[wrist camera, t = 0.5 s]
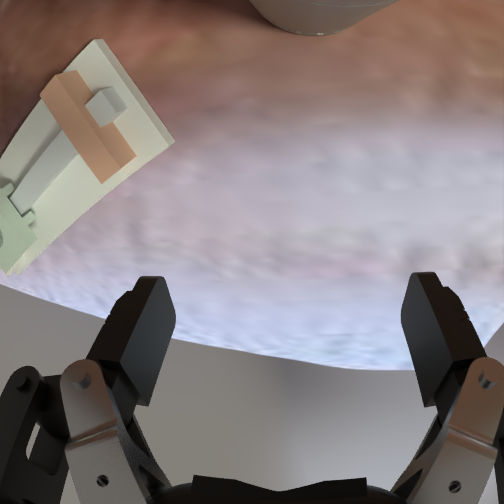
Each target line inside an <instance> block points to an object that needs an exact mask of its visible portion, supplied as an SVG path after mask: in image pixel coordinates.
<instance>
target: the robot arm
mask: <svg viewBox="0 0 504 504" xmlns="http://www.w3.org/2000/svg"><path fill="white" fill-rule="evenodd" d="M249 1H250V2H251V3H252V4H253V6H254V7H255V8H256V9H257V10H258V12H259V13H260V14H261V15H262V16H263V17H264V18H265V19H267V20H268V21H269V22H271V23H272V24H273V25H275V26H277V27H279V28H281V29H283V30H285V31H288V32H291V33H295V34H298V35H306V36H325V35H329V34H334V33H337V32H340V31H343V30H344V29H347V28H348V27H350V26H352V25H354V24H356V23H358V22H359V21H361V20H363V19H365V18H367V17H368V16H370V15H372V14H374V13H376V12H378V11H379V10H381V9H383V8H385V7H387V6H389V5H391V4H393V3H395V2H397V1H399V0H249ZM175 322H176V314H175V309H174V306H173V303H172V300H171V297H170V293H169V290H168V287H167V284H166V281H165V279H164V277H162V276H141V277H140V278H139V279H138V281H137V282H136V284H135V286H134V288H133V290H132V291H127V292H126V293H124V294H123V295H122V296H121V297H120V298H119V299H118V300H117V301H116V303H115V304H114V306H113V308H112V310H111V312H110V315H108V317H107V319H106V321H105V324H104V325H103V326H102V328H101V330H100V332H99V334H98V336H97V338H96V340H95V342H94V343H93V345H92V347H91V349H90V351H89V353H88V355H87V357H86V359H83V360H78V361H76V362H74V363H72V364H71V365H69V366H68V367H67V368H66V369H65V370H64V372H63V373H62V375H54V376H45V377H42V376H41V375H40V374H39V372H38V371H37V370H36V369H35V368H34V367H32V366H24V367H21V368H19V369H17V370H16V371H15V372H14V373H13V374H12V375H11V376H10V378H9V380H8V382H7V384H6V386H5V388H4V390H3V392H2V394H1V396H0V504H60V500H61V496H62V492H63V488H64V484H65V481H66V477H67V473H68V470H69V469H70V472H71V476H72V479H73V482H74V485H75V488H76V491H77V494H78V497H79V500H80V503H81V504H478V502H479V500H480V497H481V495H482V493H483V491H484V488H485V486H486V484H487V481H488V479H489V476H490V474H491V471H492V469H493V466H494V468H495V475H496V483H497V491H498V501H499V504H504V366H503V365H502V364H501V363H500V362H498V361H497V360H495V359H492V358H489V357H487V355H486V353H485V350H484V348H483V346H482V344H481V341H480V339H479V337H478V335H477V333H476V331H475V328H474V326H473V324H472V322H471V321H470V320H469V316H468V314H467V312H466V311H465V308H464V306H463V304H462V302H461V300H460V298H459V297H458V296H457V295H456V294H455V293H454V292H453V291H452V290H451V289H450V288H449V287H443V286H442V284H441V282H440V280H439V278H438V277H437V275H436V273H435V272H414V273H412V274H411V276H410V279H409V283H408V286H407V290H406V294H405V297H404V301H403V304H402V308H401V324H402V328H403V331H404V334H405V337H406V341H407V344H408V347H409V351H410V354H411V358H412V361H413V365H414V369H415V372H416V376H417V380H418V384H419V388H420V392H421V396H422V400H423V404H424V407H429V406H436V407H437V411H438V413H437V414H436V416H435V417H434V419H433V422H432V424H431V426H430V428H429V430H428V432H427V433H426V435H425V437H424V439H423V441H422V443H421V445H420V447H419V449H418V450H417V452H416V454H415V456H414V458H413V459H412V461H411V463H410V464H409V465H408V467H407V468H406V470H405V471H404V472H403V473H402V475H401V476H400V477H399V479H398V480H397V482H396V483H395V484H394V486H393V487H392V489H391V490H390V491H388V490H385V489H382V488H379V487H375V486H369V485H367V480H366V477H365V478H356V479H346V480H331V481H323V482H319V483H315V484H311V485H308V486H303V487H300V488H295V489H291V490H287V491H272V490H269V489H265V488H262V487H258V486H254V485H251V484H247V483H244V482H241V481H238V480H234V479H224V478H214V477H206V476H199V475H194V476H193V481H192V483H186V484H181V485H177V486H173V487H172V485H171V483H170V481H169V480H168V478H167V477H166V475H165V474H164V472H163V471H162V469H161V468H160V467H159V465H158V464H157V462H156V460H155V458H154V456H153V454H152V452H151V450H150V448H149V446H148V444H147V442H146V439H145V437H144V435H143V433H142V430H141V428H140V426H139V424H138V421H137V419H136V417H135V415H134V413H133V412H134V409H135V406H136V405H142V406H149V403H150V400H151V397H152V393H153V390H154V387H155V384H156V381H157V378H158V375H159V372H160V369H161V366H162V363H163V360H164V357H165V354H166V351H167V348H168V345H169V342H170V339H171V336H172V334H173V331H174V328H175ZM35 423H37V424H38V425H39V426H40V429H39V432H38V435H37V437H36V440H35V443H34V445H33V448H32V451H31V454H30V457H29V460H28V458H27V456H26V447H27V445H28V441H29V439H30V436H31V433H32V431H33V428H34V426H35Z"/></svg>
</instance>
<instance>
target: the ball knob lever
mask: <svg viewBox="0 0 504 504" xmlns="http://www.w3.org/2000/svg"><path fill="white" fill-rule="evenodd" d="M14 191H15V188H14V187H13V185H12V184H11V183H9V184H8V185H7V186H5V187H4V188H2V189H1V187H0V267H1V269H2V270H3V271H4V272H5V274H6V273H7V272H8V271H9V269H10V268H11V267H12V266H13V265H14V264H15V263H16V262H17V261H18V259H19V258H20V257H21V256H22V255H23V254H24V253H25V252H26V250H27V249H28V248H29V247H30V246H31V245H32V244H33V243H34V242H35V241H36V240H37V237H36V235H35V234H34V233H33V232H32V230H31V229H30V228H29V225H30V224H31V223H32V222H33V220H34V219H35V218H36V217H35V216H34V214H33V213H32V212H31V211H30V212H29V213H28V214H26V215H25V216H24V217H23V218H22V217H21V216H20V214H19V213H18V212H17V210H16V209H15V207H14V206H13V205H12V203H11V202H10V200H9V198H10V196H11V195H12V193H13V192H14Z"/></svg>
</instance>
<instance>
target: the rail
mask: <svg viewBox="0 0 504 504" xmlns="http://www.w3.org/2000/svg"><path fill="white" fill-rule="evenodd" d="M40 97H41V100H40V101H39V102H38V104H37V105H36V106H35V108H34V109H33V110H32V112H31V113H30V114H29V116H28V117H27V119H26V120H25V121H24V123H23V124H22V126H21V127H20V129H19V130H18V132H17V133H16V135H15V136H14V138H13V139H12V141H11V142H10V144H9V146H8V147H7V149H6V150H5V152H4V154H3V155H2V157H1V159H0V187H1V189H2V188H4V187H5V186H7V185H8V184H9V183H11V184H12V185H13V187H14V188H15V191H14V192H13V193H12V195H11V196H10V198H9V200H10V202H11V203H12V205H13V206H14V207H15V209H16V210H17V212H18V213H19V214H20V216H21V217H22V218H23V217H24V216H25V215H26V214H28V213H29V212H30V211H31V212H32V213H33V214H34V216H35V217H36V218H35V219H34V220H33V222H32V223H31V224H30V225H29V228H30V229H31V230H32V232H33V233H34V234H35V235H36V237H37V240H36V241H35V242H34V243H33V244H32V245H31V246H30V247H29V248H28V249H27V250H26V252H25V253H24V254H23V255H22V256H21V257H20V258H19V259H18V261H17V262H16V263H15V264H14V265H13V266H12V267H11V268H10V269H9V271H8V272H7V273H6V275H7V276H9V275H10V274H11V273H12V272H13V271H14V272H15V273H16V274H17V275H19V274H20V273H21V272H22V271H23V270H24V269H25V268H26V267H27V266H28V265H29V264H30V263H31V262H32V261H33V260H34V259H35V258H36V257H37V256H38V255H39V254H40V253H41V252H42V251H43V250H44V249H45V248H46V247H47V246H48V245H49V244H50V243H52V242H53V241H54V240H55V239H56V238H57V237H58V236H59V235H60V234H61V233H62V232H63V231H64V230H65V229H67V228H68V227H69V226H70V225H71V224H72V223H73V222H74V221H76V220H77V219H78V218H79V217H80V216H81V215H82V214H83V213H85V212H86V211H87V210H88V209H89V208H90V207H92V206H93V205H94V204H95V203H96V202H98V201H99V200H100V199H101V198H102V197H104V196H105V195H106V194H107V193H108V192H110V191H111V190H112V189H113V188H115V187H116V186H117V185H118V184H120V183H121V182H122V181H124V180H125V179H126V178H127V177H129V176H130V175H131V174H133V173H134V172H135V171H137V170H138V169H139V168H140V167H142V166H143V165H144V164H146V163H147V162H149V161H150V160H151V159H153V158H154V157H155V156H157V155H158V154H160V153H161V152H162V151H164V150H165V149H167V148H168V147H169V146H171V145H172V144H173V143H175V140H174V139H173V137H172V136H171V134H170V133H169V132H168V130H167V129H166V127H165V126H164V125H163V123H162V122H161V120H160V119H159V118H158V116H157V115H156V113H155V112H154V110H153V109H152V108H151V106H150V105H149V103H148V102H147V101H146V99H145V98H144V96H143V95H142V93H141V92H140V91H139V89H138V88H137V86H136V85H135V84H134V82H133V81H132V79H131V78H130V77H129V75H128V74H127V72H126V71H125V69H124V68H123V67H122V65H121V64H120V62H119V61H118V60H117V58H116V57H115V55H114V54H113V53H112V51H111V50H110V48H109V47H108V45H107V44H106V43H105V41H104V40H103V39H94V40H93V41H92V42H91V43H90V44H89V45H88V46H87V47H86V48H85V49H84V50H83V51H82V52H81V53H80V54H79V55H78V56H77V57H76V58H75V59H74V60H73V61H72V63H71V64H70V65H69V66H68V67H67V68H66V69H65V70H64V72H63V73H61V74H56V75H55V76H54V77H53V78H52V79H51V81H50V82H49V83H48V84H47V86H46V87H45V88H44V89H43V91H42V92H41V93H40ZM0 268H1V267H0ZM4 273H5V272H4Z"/></svg>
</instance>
